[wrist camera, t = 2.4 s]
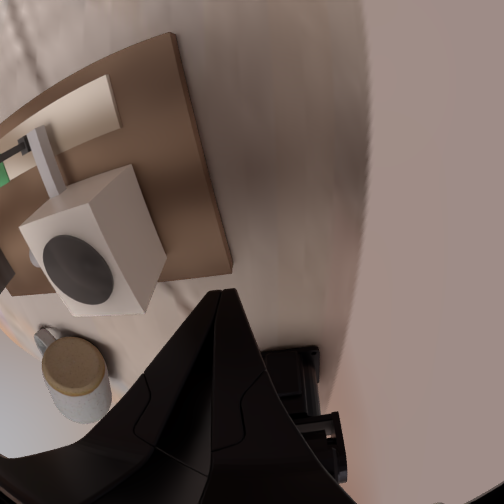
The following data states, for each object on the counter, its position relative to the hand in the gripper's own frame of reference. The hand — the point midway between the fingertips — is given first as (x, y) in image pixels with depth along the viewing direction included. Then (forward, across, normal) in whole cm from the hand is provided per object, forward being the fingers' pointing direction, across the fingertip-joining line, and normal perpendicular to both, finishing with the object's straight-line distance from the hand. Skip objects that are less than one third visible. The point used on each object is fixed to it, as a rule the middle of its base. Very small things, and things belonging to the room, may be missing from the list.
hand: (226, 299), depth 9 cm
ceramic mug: (+9, +22, +14) cm, 28 cm away
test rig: (+8, +13, -2) cm, 16 cm away
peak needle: (+6, +11, -7) cm, 14 cm away
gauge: (+7, +9, -2) cm, 12 cm away
